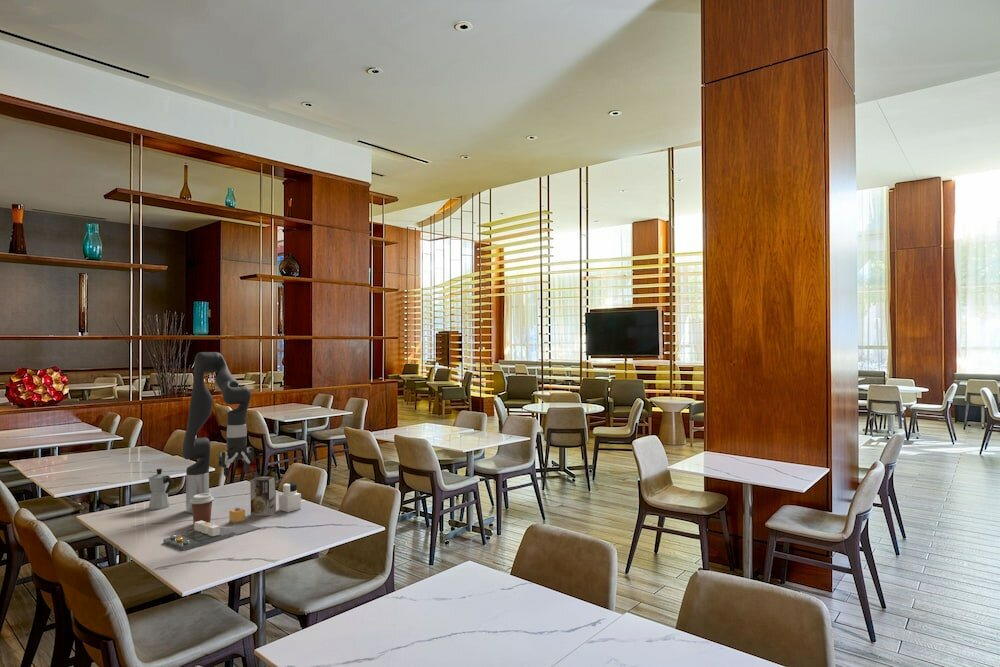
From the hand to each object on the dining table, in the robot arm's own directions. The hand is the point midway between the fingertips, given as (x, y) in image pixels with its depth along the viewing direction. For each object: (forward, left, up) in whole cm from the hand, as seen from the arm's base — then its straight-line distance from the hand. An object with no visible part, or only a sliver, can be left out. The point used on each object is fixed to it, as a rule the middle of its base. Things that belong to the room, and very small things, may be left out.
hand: (236, 474), depth 238 cm
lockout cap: (-10, +6, -23) cm, 26 cm away
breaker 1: (-6, -12, -21) cm, 25 cm away
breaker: (+4, -12, -21) cm, 24 cm away
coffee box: (-11, +19, -23) cm, 32 cm away
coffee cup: (-20, -4, -23) cm, 31 cm away
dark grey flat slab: (-1, -15, -23) cm, 27 cm away
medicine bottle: (-7, +30, -23) cm, 39 cm away
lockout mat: (+2, +1, -23) cm, 23 cm away
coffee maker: (-61, -2, -23) cm, 66 cm away
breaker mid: (-1, -12, -21) cm, 24 cm away
